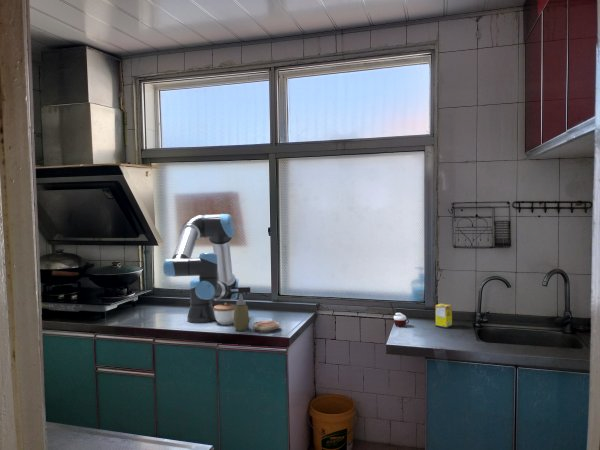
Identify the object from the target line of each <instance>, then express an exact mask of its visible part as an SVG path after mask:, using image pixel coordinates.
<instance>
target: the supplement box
mask: <svg viewBox="0 0 600 450" xmlns="http://www.w3.org/2000/svg"><path fill="white" fill-rule="evenodd" d="M434 306H435V309H434V310H435V312H434V313H435V328H442V329H448V328H451V327H452V326H453V311H452V310H453V309H452V308H453V306H452V304H449V303H448V304H447V303H438V304H435V305H434Z"/></svg>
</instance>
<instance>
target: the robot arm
mask: <svg viewBox="0 0 600 450" xmlns="http://www.w3.org/2000/svg"><path fill="white" fill-rule="evenodd" d="M235 231H236V230H235V223H234V219H233V217H232V216H231V215H230V214H229V213H218V214H217V213H216V214H214V213H213V214H212V213H211V214H206V213H205V214H204V213H200V214H196V215H194V216H191V217H190V218H189V219H187V220H186V221H185V222H184V223H183V224H182V225H181V228H180V231H179V234H180V236H179V240H178V242H177V245H176V247H175V250H174V253H173V255H172V257H170V258H165V259H164V261H163V267H162V269H163V274H164V276H166V277H193V276H194V277H197V278H193V279H191V280H190V282H189V304H190V306H189V310H188V314H187V316H186V319H187V322H189V323H195V324H202V323H210V322H213V321H215V320H216V319H215V316H214V306H213V301H216V302H217V301H234V300H237V298H238V294H244V295H248V294H251V287H250V286H248V287H247V286H246V287H244V286H243V287H242V286H241V287H240V286H239V278H236V275H235V274H234V273H233V267H232V266H233V264H232V257H231V256H232V255H231V246H230V243H231V242H232V240H233V239H232V238H234V237H235V234H236V232H235ZM201 238H205V239H206V238H208V240H209V243H211V245H212V250H213V252H201V253H200V254H199V257H192V256H193V252H194V249H195V246H196V243H197V241H198V240H199V239H201Z"/></svg>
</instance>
